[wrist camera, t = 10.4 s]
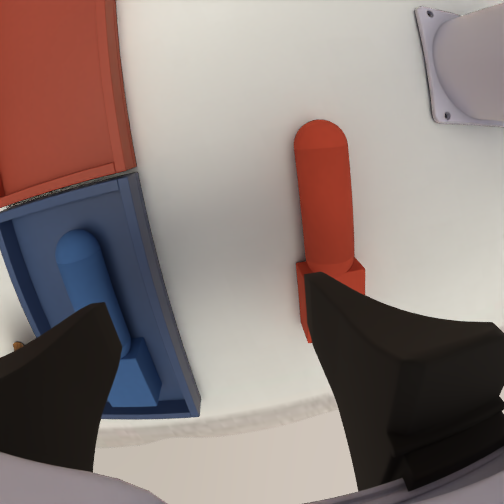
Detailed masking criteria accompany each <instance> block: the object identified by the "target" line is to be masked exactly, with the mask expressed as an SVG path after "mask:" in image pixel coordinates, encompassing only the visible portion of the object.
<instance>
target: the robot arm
mask: <svg viewBox="0 0 504 504" xmlns="http://www.w3.org/2000/svg"><path fill="white" fill-rule="evenodd" d="M427 12H428V13H429V14H430V17H429V16H428V14H427ZM415 14H416V18H417V22H418V27H419V31H420V36H421V41H422V46H423V51H424V56H425V62H426V68H427V74H428V81H429V88H430V96H431V105H432V114H433V119H434V120H435V121H436V122H437V123H446V124H469V125H485V126H498V127H504V3H501V4H497V5H494V6H491V7H487V8H484V9H481V10H478V11H475V12H472V13H469V14H466V15H463V16H461V15H457V14H453V13H449V12H445V11H441V10H437V9H432V8H428V7H423V6H420V7H418V8H416V10H415ZM445 113H446V114H447V118H445V116H444V115H445ZM304 284H305V298H306V312H307V325H308V329H309V332H310V336H311V340H312V343H313V347H314V349H315V352H316V354H317V356H318V359H319V361H320V363H321V366H322V368H323V370H324V373H325V375H326V377H327V380H328V382H329V384H330V387H331V389H332V391H333V394H334V396H335V399H336V402H337V405H338V408H339V412H340V416H341V419H342V422H343V426H344V430H345V434H346V438H347V442H348V446H349V450H350V454H351V458H352V463H353V467H354V472H355V477H356V482H357V487H358V492H355V493H351V494H347V495H343V496H338V497H335V498H330V499H325V500H320V501H315V502H310V503H304V504H504V414H503V413H502V410H504V402H503V400H502V399H501V398H500V397H499V395H500V393H501V390H502V388H503V386H504V333H503V332H502V331H501V330H500V329H499V328H498V327H497V326H496V325H495V324H494V323H493V322H465V321H454V320H446V319H439V318H433V317H427V316H423V315H419V314H415V313H411V312H407V311H404V310H400V309H398V308H395V307H392V306H389V305H386V304H384V303H381V302H379V301H376V300H374V299H372V298H370V297H368V296H365V295H363V294H361V293H359V292H357V291H356V290H354V289H352V288H350V287H348V286H346V285H345V284H343V283H341V282H339V281H338V280H336V279H334V278H333V277H331V276H329V275H327V274H325V273H323V272H315V273H309V274H304ZM121 352H122V344H121V342H120V339H119V337H118V335H117V332H116V330H115V327H114V324H113V322H112V319H111V317H110V314H109V311H108V309H107V306H106V303H105V302H100V303H91V304H89V305H87V306H85V307H83V308H81V309H80V310H78V311H76V312H75V313H73V314H72V315H70V316H69V317H67V318H66V319H64V320H63V321H62V322H60V323H59V324H57V325H56V326H54V327H53V328H51V329H50V330H48V331H47V332H45V333H44V334H42V335H41V336H39V337H38V338H36V339H35V340H33V341H31V342H30V343H28V344H26V345H25V346H23V347H21V348H19V349H17V350H16V351H14V352H12V353H10V354H8V355H6V356H3V357H1V358H0V504H167V503H166V502H164V501H163V500H162V499H160V498H158V497H157V496H156V495H154V494H153V493H151V492H150V491H148V490H145V489H143V488H140V487H138V486H135V485H133V484H130V483H128V482H125V481H123V480H120V479H117V478H112V477H109V476H104V475H100V474H96V473H93V462H94V453H95V446H96V440H97V434H98V429H99V424H100V420H101V416H102V413H103V410H104V407H105V404H106V402H107V399H108V396H109V393H110V390H111V388H112V385H113V382H114V379H115V376H116V373H117V370H118V367H119V362H120V358H121Z"/></svg>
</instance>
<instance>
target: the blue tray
mask: <svg viewBox="0 0 504 504" xmlns="http://www.w3.org/2000/svg"><path fill="white" fill-rule="evenodd" d="M75 229H81V230H85V231H88V232H89V233H91V234H92V235H93V236H94V237H95V238H96V239H97V241H98V243H99V245H100V248H101V251H102V255H103V258H104V261H105V264H106V268H107V271H108V274H109V277H110V280H111V283H112V286H113V289H114V292H115V295H116V298H117V301H118V304H119V307H120V309H121V312H122V315H123V318H124V320H125V323H126V326H127V328H128V331H129V333H130V337H131V338H138V337H144V340H145V342H146V345H147V348H148V350H149V353H150V355H151V358H152V360H153V363H154V365H155V368H156V370H157V373H158V375H159V377H160V380H161V382H162V386H161V391H160V396H159V400H158V405H157V406H149V407H112V406H111V404H110V402H109V401H108V399H107V402H106V404H105V407H104V410H103V413H102V416H101V419H171V418H190V417H199V416H200V404H201V397H200V394H199V392H198V389H197V386H196V383H195V380H194V377H193V375H192V372H191V369H190V366H189V363H188V360H187V357H186V354H185V351H184V348H183V345H182V341H181V338H180V335H179V332H178V329H177V325H176V322H175V319H174V316H173V312H172V309H171V305H170V302H169V298H168V295H167V291H166V288H165V284H164V281H163V277H162V273H161V270H160V266H159V262H158V258H157V254H156V250H155V246H154V242H153V238H152V234H151V230H150V226H149V221H148V217H147V213H146V208H145V204H144V199H143V195H142V190H141V185H140V180H139V175H138V172H134V173H130V174H126V175H122V176H117V177H113V178H109V179H105V180H101V181H98V182H94V183H90V184H86V185H82V186H79V187H75V188H72V189H68V190H65V191H61V192H58V193H54V194H51V195H48V196H44V197H41V198H38V199H35V200H32V201H28V202H25V203H22V204H19V205H16V206H13V207H10V208H7V209H5V210H3V211H1V212H0V250H1V253H2V256H3V259H4V262H5V265H6V268H7V270H8V273H9V276H10V278H11V281H12V284H13V286H14V289H15V291H16V294H17V296H18V299H19V301H20V303H21V306H22V308H23V310H24V313H25V315H26V317H27V319H28V322H29V324H30V326H31V328H32V330H33V332H34V334H35V336H36V338H38V337H39V336H41V335H42V334H44V333H45V332H47V331H48V330H50V329H51V328H53V327H54V326H56V325H57V324H59V323H60V322H62V321H63V320H64V319H66V318H67V317H69V316H70V315H72V314H73V313H75V311H74V308H73V306H72V303H71V301H70V298H69V296H68V293H67V290H66V288H65V285H64V282H63V280H62V277H61V274H60V271H59V268H58V265H57V262H56V258H55V251H56V246H57V243H58V241H59V240H60V238H61V237H62V236H63V235H64V234H65V233H67V232H69V231H71V230H75Z"/></svg>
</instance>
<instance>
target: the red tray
mask: <svg viewBox="0 0 504 504" xmlns="http://www.w3.org/2000/svg"><path fill="white" fill-rule="evenodd" d="M136 166H137V165H136V160H135V154H134V149H133V143H132V138H131V132H130V126H129V119H128V113H127V106H126V100H125V92H124V85H123V77H122V69H121V60H120V51H119V41H118V30H117V17H116V2H115V0H0V208H2V207H4V206H7V205H10V204H13V203H16V202H19V201H22V200H25V199H28V198H31V197H34V196H37V195H40V194H43V193H47V192H50V191H53V190H56V189H60V188H63V187H67V186H70V185H74V184H77V183H81V182H84V181H88V180H92V179H96V178H99V177H103V176H107V175H111V174H115V173H119V172H123V171H127V170H129V169H132V168H134V167H136Z"/></svg>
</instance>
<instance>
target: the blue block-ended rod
mask: <svg viewBox="0 0 504 504" xmlns="http://www.w3.org/2000/svg"><path fill="white" fill-rule="evenodd" d="M55 258H56V262H57V265H58V268H59V271H60V274H61V277H62V280H63V282H64V285H65V288H66V290H67V293H68V296H69V298H70V301H71V303H72V306H73V308H74V311H75V312H76V311H78V310H80V309H81V308H83V307H85V306H87V305H89V304H91V303H100V302H105V303H106V306H107V309H108V311H109V314H110V317H111V319H112V322H113V324H114V327H115V330H116V332H117V335H118V337H119V339H120V342H121V344H122V352H121V358H120V362H119V367H118V370H117V373H116V376H115V379H114V382H113V385H112V388H111V390H110V393H109V396H108V401H109V402H110V404H111V406H112V407H149V406H157V405H158V400H159V396H160V391H161V386H162V382H161V380H160V377H159V375H158V373H157V370H156V368H155V365H154V363H153V360H152V358H151V355H150V353H149V350H148V348H147V345H146V342H145V340H144V337H138V338H131V337H130V333H129V331H128V328H127V326H126V323H125V320H124V318H123V315H122V312H121V309H120V307H119V304H118V301H117V298H116V295H115V292H114V289H113V286H112V283H111V280H110V277H109V274H108V271H107V268H106V264H105V261H104V258H103V255H102V251H101V248H100V245H99V243H98V241H97V239H96V238H95V237H94V236H93V235H92V234H91V233H89V232H88V231H85V230H81V229H75V230H71V231H69V232H67V233H65V234H64V235H63V236H62V237H61V238H60V240H59V241H58V243H57V246H56V251H55Z"/></svg>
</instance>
